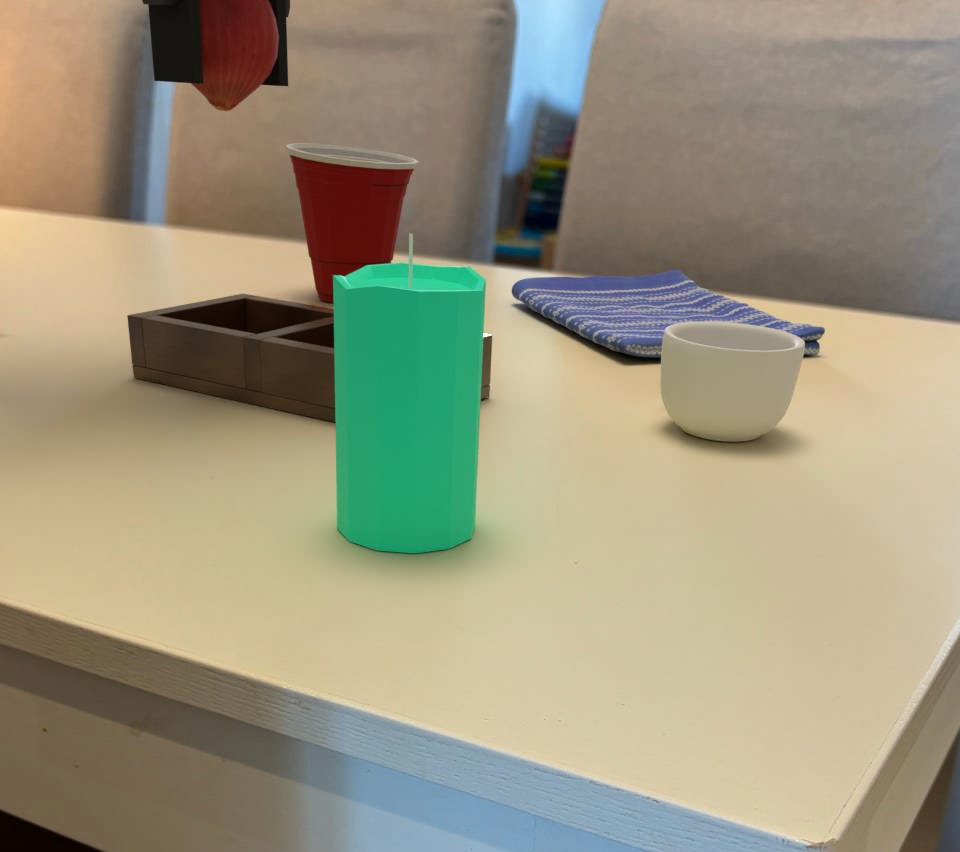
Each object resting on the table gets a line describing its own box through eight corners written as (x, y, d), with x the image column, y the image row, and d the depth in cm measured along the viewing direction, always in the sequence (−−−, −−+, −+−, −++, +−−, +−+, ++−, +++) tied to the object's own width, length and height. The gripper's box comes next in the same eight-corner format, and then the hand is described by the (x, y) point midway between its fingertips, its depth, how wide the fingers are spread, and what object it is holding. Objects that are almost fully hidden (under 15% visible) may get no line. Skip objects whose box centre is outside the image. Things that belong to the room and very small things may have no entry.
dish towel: (677, 299, 102) (681, 267, 101) (828, 356, 82) (835, 318, 81) (504, 302, 97) (506, 269, 96) (621, 364, 77) (625, 323, 76)
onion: (269, 111, 63) (262, -54, 59) (290, 115, 58) (285, -64, 54) (164, 107, 61) (151, -64, 57) (177, 111, 56) (163, -75, 52)
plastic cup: (386, 316, 89) (387, 154, 84) (267, 302, 92) (260, 145, 87) (434, 295, 98) (438, 149, 93) (324, 284, 101) (322, 141, 96)
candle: (420, 494, 52) (426, 221, 46) (504, 534, 47) (521, 240, 42) (310, 519, 48) (302, 227, 43) (390, 564, 44) (392, 248, 39)
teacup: (818, 444, 62) (836, 347, 59) (703, 456, 59) (717, 354, 56) (714, 399, 70) (726, 312, 67) (609, 408, 67) (618, 317, 64)
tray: (133, 377, 68) (126, 315, 67) (246, 349, 76) (243, 293, 75) (393, 435, 60) (393, 365, 58) (489, 397, 68) (492, 334, 66)
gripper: (79, -641, 39) (140, 83, 50) (387, -437, 54) (384, 90, 65) (-55, -594, 43) (29, 75, 53) (269, -414, 57) (285, 84, 68)
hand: (223, 82), depth 59 cm, fingers closed on onion, 6 cm apart
